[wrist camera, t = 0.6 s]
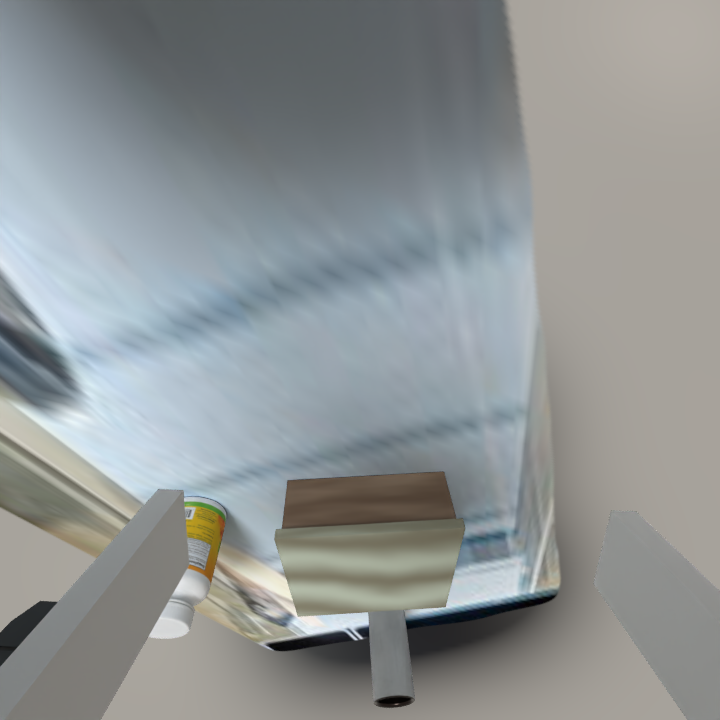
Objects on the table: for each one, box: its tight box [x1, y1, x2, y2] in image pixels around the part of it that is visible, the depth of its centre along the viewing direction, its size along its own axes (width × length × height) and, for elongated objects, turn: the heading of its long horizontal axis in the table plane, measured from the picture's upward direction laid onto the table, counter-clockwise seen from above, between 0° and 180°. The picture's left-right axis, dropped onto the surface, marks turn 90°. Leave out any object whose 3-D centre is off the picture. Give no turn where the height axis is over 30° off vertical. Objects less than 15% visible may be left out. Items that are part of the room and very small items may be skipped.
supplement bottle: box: [148, 497, 226, 639], centre depth 33 cm, size 5×5×10 cm
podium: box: [275, 472, 465, 617], centre depth 37 cm, size 15×15×6 cm
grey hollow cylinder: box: [368, 610, 415, 708], centre depth 47 cm, size 4×4×10 cm
